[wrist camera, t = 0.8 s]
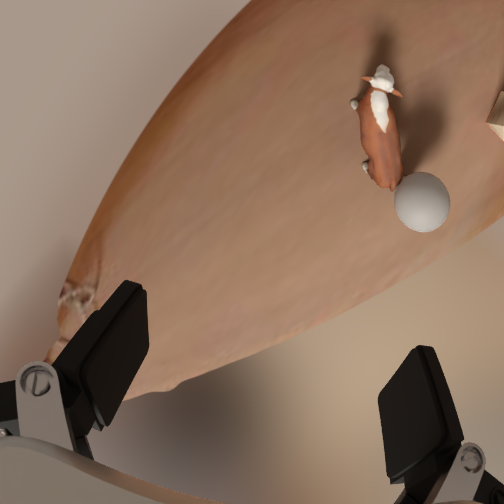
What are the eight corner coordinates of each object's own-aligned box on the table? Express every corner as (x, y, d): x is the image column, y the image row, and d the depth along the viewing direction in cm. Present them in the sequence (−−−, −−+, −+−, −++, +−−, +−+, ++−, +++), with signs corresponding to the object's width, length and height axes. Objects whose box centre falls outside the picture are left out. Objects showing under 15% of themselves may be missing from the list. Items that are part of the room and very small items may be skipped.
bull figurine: (378, 71, 28) (401, 61, 21) (389, 178, 33) (412, 196, 26) (343, 71, 29) (357, 61, 21) (356, 180, 34) (372, 199, 27)
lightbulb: (420, 159, 32) (462, 180, 22) (418, 205, 34) (456, 240, 24) (375, 159, 33) (406, 179, 23) (376, 206, 35) (403, 243, 26)
